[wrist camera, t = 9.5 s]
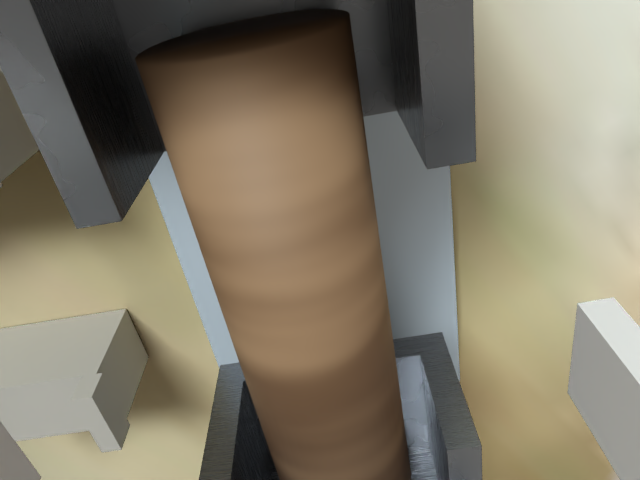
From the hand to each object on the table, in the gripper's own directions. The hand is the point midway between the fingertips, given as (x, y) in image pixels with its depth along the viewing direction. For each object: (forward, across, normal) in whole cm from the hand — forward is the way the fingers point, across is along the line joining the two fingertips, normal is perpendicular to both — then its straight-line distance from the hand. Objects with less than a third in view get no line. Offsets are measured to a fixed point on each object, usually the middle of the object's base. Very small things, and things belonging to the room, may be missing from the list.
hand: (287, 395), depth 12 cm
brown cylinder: (+5, +1, 0) cm, 5 cm away
